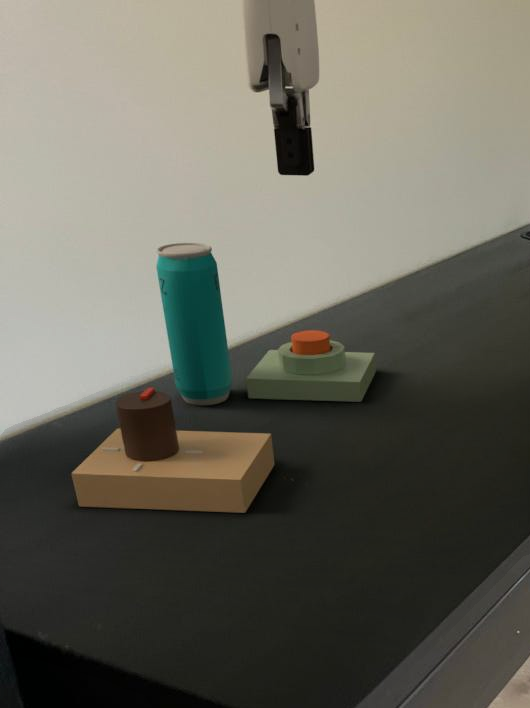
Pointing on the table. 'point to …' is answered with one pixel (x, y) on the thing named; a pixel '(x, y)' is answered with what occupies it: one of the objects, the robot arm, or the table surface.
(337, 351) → the switch base
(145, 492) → the dial panel
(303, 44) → the robot arm
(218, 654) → the table surface
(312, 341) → the switch button
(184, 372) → the beverage can
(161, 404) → the dial
